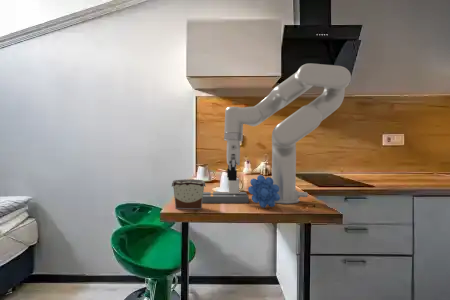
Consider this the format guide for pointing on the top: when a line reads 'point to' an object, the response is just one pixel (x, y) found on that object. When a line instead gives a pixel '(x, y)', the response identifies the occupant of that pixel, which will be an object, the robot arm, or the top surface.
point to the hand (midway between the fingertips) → (231, 179)
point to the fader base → (225, 197)
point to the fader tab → (234, 187)
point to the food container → (188, 193)
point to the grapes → (264, 191)
